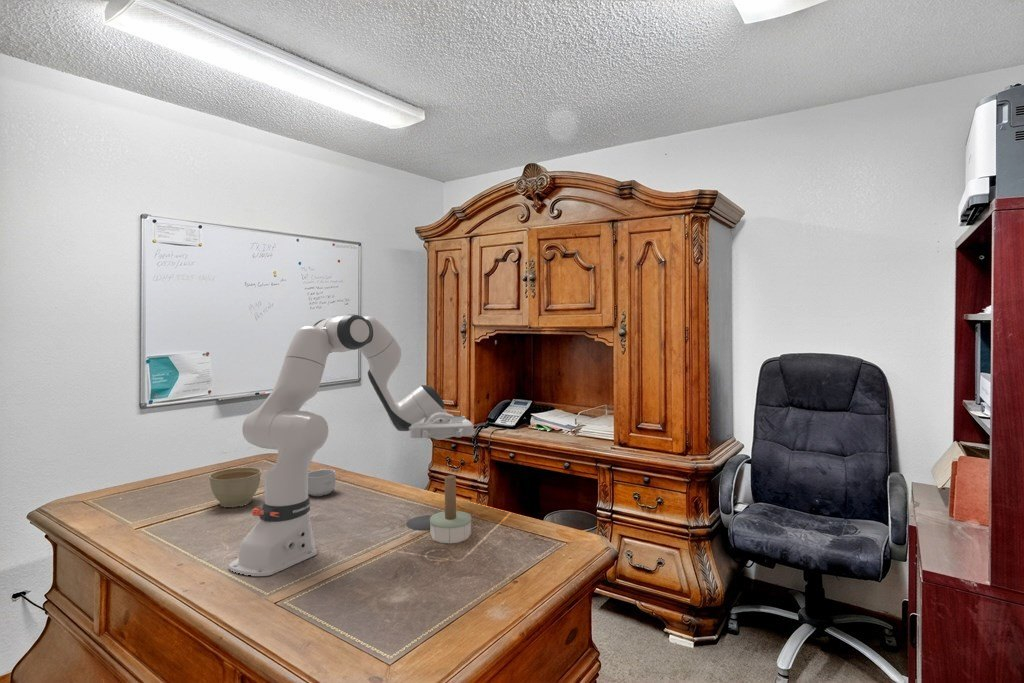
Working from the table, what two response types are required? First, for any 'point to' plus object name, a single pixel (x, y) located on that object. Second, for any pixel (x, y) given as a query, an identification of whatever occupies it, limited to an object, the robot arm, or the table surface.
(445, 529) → the bowl
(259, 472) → the planter bowl
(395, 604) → the table surface
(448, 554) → the table surface
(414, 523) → the mat
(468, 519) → the peg stand
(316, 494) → the teacup
